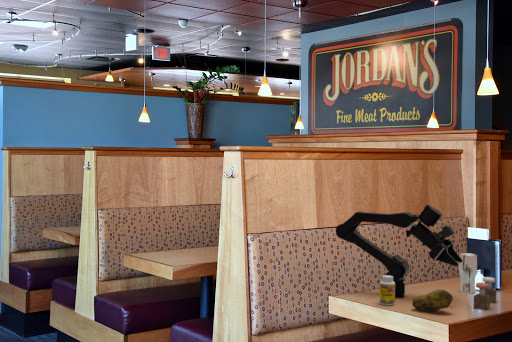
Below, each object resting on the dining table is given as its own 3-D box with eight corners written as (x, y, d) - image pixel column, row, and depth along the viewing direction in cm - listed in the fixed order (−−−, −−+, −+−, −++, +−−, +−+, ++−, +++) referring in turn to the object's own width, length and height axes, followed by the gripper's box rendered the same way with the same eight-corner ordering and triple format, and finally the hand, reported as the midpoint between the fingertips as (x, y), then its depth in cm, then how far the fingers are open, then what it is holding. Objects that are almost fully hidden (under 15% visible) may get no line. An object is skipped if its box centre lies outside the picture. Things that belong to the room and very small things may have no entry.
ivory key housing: (482, 301, 233) (483, 290, 233) (480, 299, 237) (481, 287, 237) (495, 302, 232) (496, 290, 232) (493, 299, 236) (493, 288, 236)
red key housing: (473, 308, 223) (473, 296, 222) (476, 305, 226) (476, 293, 226) (486, 310, 220) (487, 297, 220) (489, 307, 224) (490, 295, 224)
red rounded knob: (474, 298, 223) (474, 284, 222) (477, 296, 226) (477, 282, 226) (486, 300, 220) (487, 285, 220) (489, 298, 224) (489, 283, 224)
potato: (421, 306, 224) (421, 284, 224) (455, 312, 215) (455, 289, 215) (409, 310, 218) (410, 287, 218) (444, 317, 209) (444, 293, 209)
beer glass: (477, 293, 247) (478, 256, 246) (459, 292, 248) (460, 255, 248) (475, 290, 254) (476, 253, 253) (457, 289, 255) (458, 252, 255)
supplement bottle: (378, 305, 225) (378, 276, 225) (380, 301, 230) (380, 274, 230) (394, 306, 223) (394, 278, 223) (395, 303, 228) (396, 275, 228)
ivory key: (483, 292, 233) (484, 278, 233) (481, 290, 237) (482, 276, 237) (495, 293, 232) (495, 279, 232) (493, 290, 236) (493, 277, 236)
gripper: (433, 221, 224) (469, 250, 219) (443, 217, 241) (477, 244, 235) (414, 245, 228) (449, 273, 222) (426, 239, 244) (459, 266, 238)
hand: (459, 263), depth 229 cm, fingers open, 9 cm apart
